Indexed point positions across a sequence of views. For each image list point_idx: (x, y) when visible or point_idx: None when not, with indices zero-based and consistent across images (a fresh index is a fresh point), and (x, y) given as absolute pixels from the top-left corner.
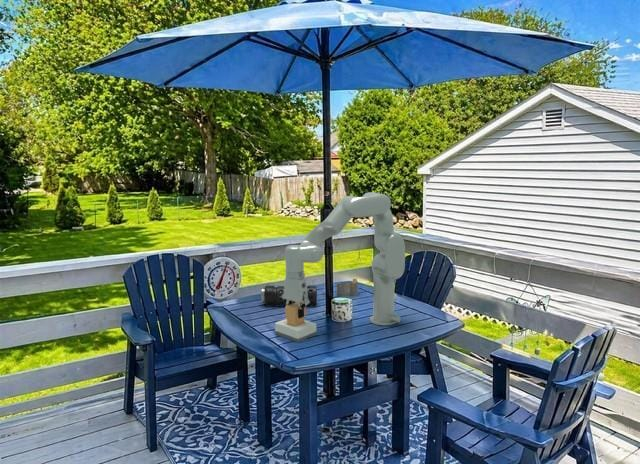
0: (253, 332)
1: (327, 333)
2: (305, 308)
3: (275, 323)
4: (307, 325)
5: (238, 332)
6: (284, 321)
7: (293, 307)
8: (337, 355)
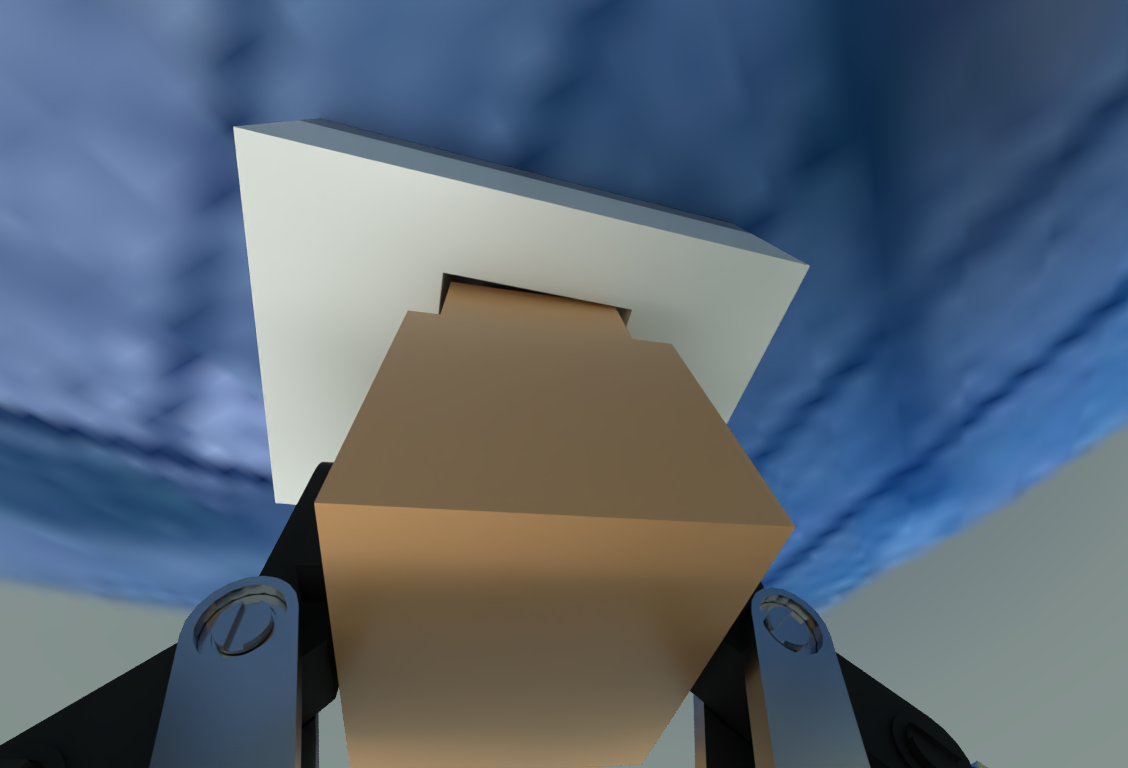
0: (118, 478)
1: (853, 110)
2: (733, 455)
3: (286, 497)
4: (708, 385)
5: (15, 536)
6: (333, 415)
7: (575, 748)
8: (972, 479)
